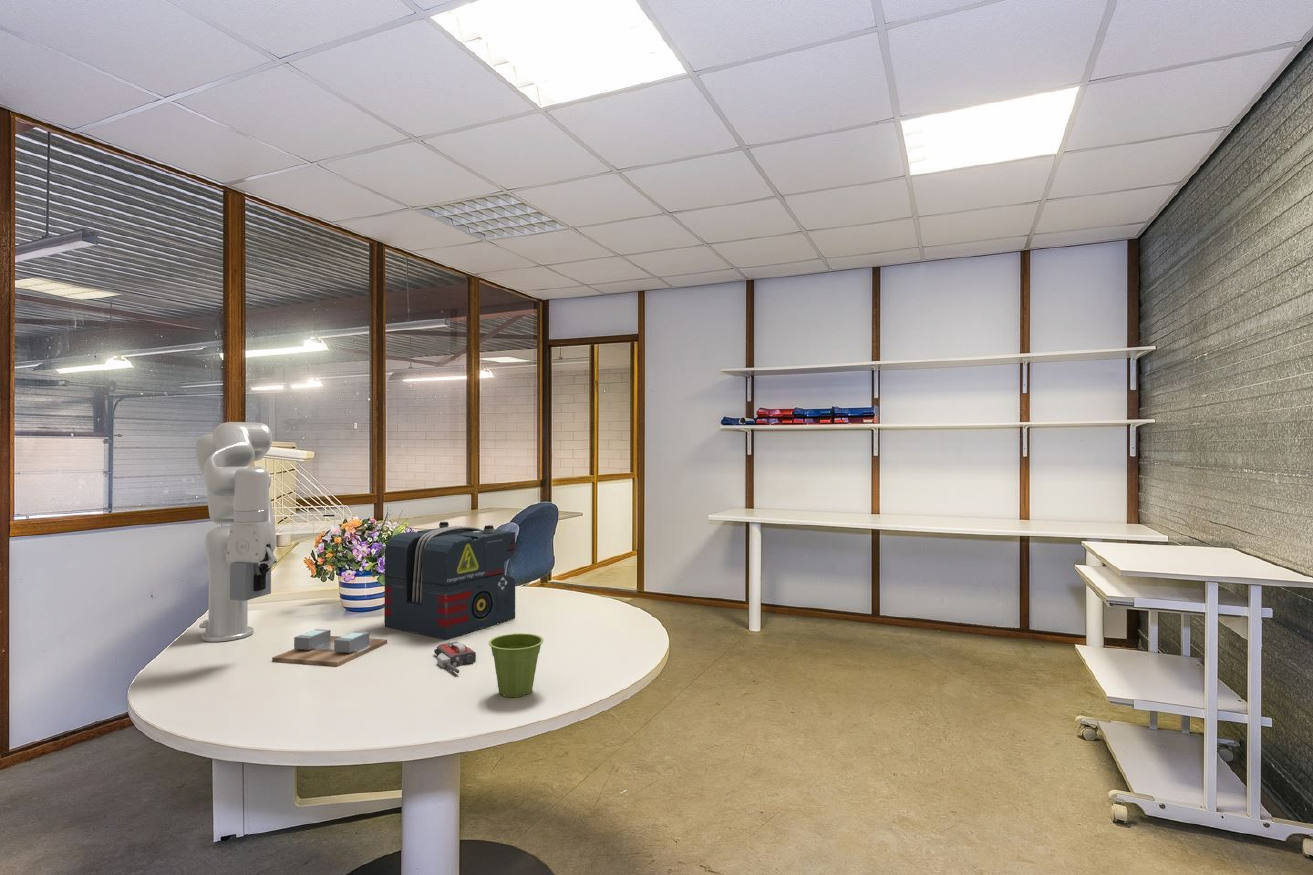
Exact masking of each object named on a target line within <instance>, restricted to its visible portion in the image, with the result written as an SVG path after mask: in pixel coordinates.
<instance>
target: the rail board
mask: <svg viewBox="0 0 1313 875" xmlns="http://www.w3.org/2000/svg"><path fill="white" fill-rule="evenodd" d="M370 634H371V633H370V632H367V631H352V632H350V633H348V634H346V635H342V636H338V635H337V636H336V635H331V629H319V628H315V629H313V630H310V631H307V632H305V633H302V634H300V635H299V634H298V635H297V636H294V637H293V641H294V644H293V645H294V647H293V649H290V650H288V651H285V652H283V653H280V654H277V655H275V656H273V657H271V661H272V663H273V662H275V663H287V664H288V663H289V664H298V665H301V664H302V665H315V666H329V667H340V666H342V665H344V664H346V663H348V662H351V661H352V660H355V659H356V658H359V657H361V656H363V655H365V654H368V653H371V652H372V651H374V650H376V649H378V648H380V647H383V646H385V645H387V644H388V638H387V639H386V638H384V639H383V638H370V637H371V636H370Z"/></svg>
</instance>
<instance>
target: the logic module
mask: <svg viewBox="0 0 1313 875" xmlns="http://www.w3.org/2000/svg"><path fill="white" fill-rule="evenodd" d="M260 562H261V561H260ZM267 562H268V561H267ZM260 567H262V565H261V564H260ZM254 575H256V572H255V566H254V564H251V563H238V562H234V563H230V600H241V601H246V600H248V601H250V600H253V599H256V598H260V597H264V596H268V595H270V594H272V567H271V568H270V569H269V570H268V573H266V588H265V589H263V590H260V591H254Z"/></svg>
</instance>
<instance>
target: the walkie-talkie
mask: <svg viewBox="0 0 1313 875" xmlns="http://www.w3.org/2000/svg"><path fill="white" fill-rule="evenodd" d="M433 652H434V654H435V655H436V657H437V659H436V660H437V664H438V666H440V668H441V669H446V668H448V669H449V670H450V671H452V672H454V673H456V674H460V670H459V669H458V668H457V666H463V665H464V666H465V665H468V664H469V665H470V664H474V663H476V661H477V660H476V658H477V652H476V651H474V650H473V649H472V648H469V647H468V646H466V645H465V644H464V643H462V642H459V641H457V640H455V641H449V642H447V643H441V644H439V645H437V647H436V649H434V651H433ZM473 662H474V663H473Z"/></svg>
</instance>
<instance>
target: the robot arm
mask: <svg viewBox="0 0 1313 875" xmlns="http://www.w3.org/2000/svg"><path fill="white" fill-rule="evenodd" d="M272 444H273V433H272V431H271V429H270V427H269V426H268V425H267V424H266V423H263V422H253V421H252V422H250V421H249V422H247V421H227V422H222V423H221V424H219V425H217V426H216V427H215V428H214V430H213V432H212V433H208V434H202V435H200V436H199V437H198V438H197V440H195V444H194V445H195V446H194V453H195V458H196V462H197V465H198V467H199V468H198V469H199V470H200V471H201V474H202V476H203V477H204V478H203V479H204V482H205V486H206V494H207V504H208V505H207V506H208V515H209V518H210V520H211V521H212V523H214V524H217V525H222V526H218V527H217V526H216V527H215V528H212V529H210V530H209V531H208V532H207V533H206V535H205V540H204V546H205V552H206V558H207V566H208V567H207V568H208V619H205V620H204V619H203V622H201V623H199V625H198V627H199V629H205V632H203V633H202V634H201V640H202V641H203V642H208V643H209V642H211V643H212V642H214V643H215V642H227V641H228V642H229V641H235V640H240V639H243V638H246V637H249V636H251V635H253V634H254V633H255V632H254V631H255V630H254V627H251V626H248V610H249V608H248V607H249V606H248V602H249V600H246V601H241V600H230V563H234V562H238V563H251V564H254V566H255V572H256V575H254V591H260V590H263V589H265V588H266V573H268V570H269V569H270V568H271V569H272V567H273V566H274V565H276V564H277V563H278V560H277V558H276V556H275V554H274V551H275V549H276V545H277V535H276V525H275V520H274V518H275V517H274V510H273V509H274V508H273V504H272V499H271V497H270V487H271V482H272V476H271V473H270V472H269V471H268V470H267V468H266V467H264V466H249V465H251V463H252V462H256V461H257V462H258V461H261V460H262V459H263V458H264V457H265V455H267V453H268V452H269V450H270V449H271V447H272ZM260 561H261V562H260ZM267 561H268V562H267ZM260 564H261V565H262V567H260Z"/></svg>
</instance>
